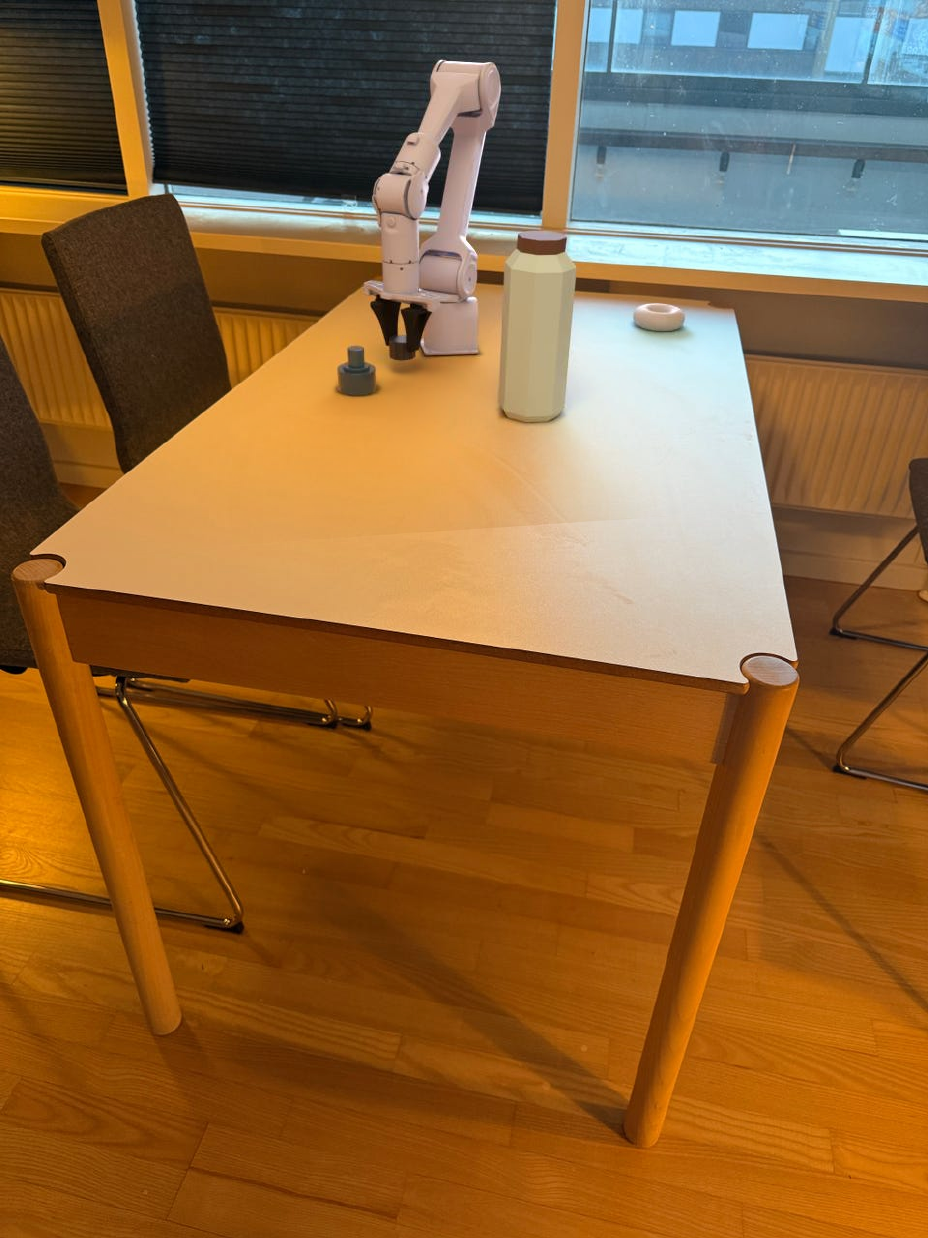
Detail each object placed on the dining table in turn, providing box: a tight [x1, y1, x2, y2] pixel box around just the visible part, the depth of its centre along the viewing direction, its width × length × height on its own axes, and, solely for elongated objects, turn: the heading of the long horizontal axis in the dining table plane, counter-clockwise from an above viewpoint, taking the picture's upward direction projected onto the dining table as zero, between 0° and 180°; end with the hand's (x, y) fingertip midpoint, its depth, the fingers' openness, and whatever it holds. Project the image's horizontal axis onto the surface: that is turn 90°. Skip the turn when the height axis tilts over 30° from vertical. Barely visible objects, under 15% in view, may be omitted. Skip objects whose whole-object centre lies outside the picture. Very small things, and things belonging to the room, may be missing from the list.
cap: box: [388, 334, 417, 362], centre depth 145 cm, size 4×4×3 cm
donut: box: [632, 303, 686, 332], centre depth 173 cm, size 10×4×10 cm
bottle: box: [336, 345, 377, 397], centre depth 139 cm, size 6×6×6 cm
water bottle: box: [497, 230, 578, 424], centre depth 127 cm, size 10×10×25 cm
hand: (402, 347), depth 145 cm, fingers closed on cap, 4 cm apart
